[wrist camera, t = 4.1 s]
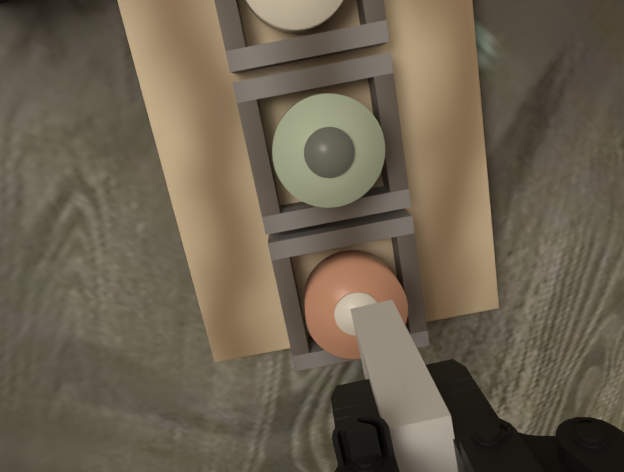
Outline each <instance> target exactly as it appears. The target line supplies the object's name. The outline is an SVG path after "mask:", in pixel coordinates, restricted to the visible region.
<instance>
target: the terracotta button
mask: <svg viewBox="0 0 624 472" xmlns="http://www.w3.org/2000/svg"><path fill="white" fill-rule="evenodd" d="M388 300H393V302H394V304H395V306H396V308H397V310H398V312H399V314H400V316H401V318H402V320H403V322H404V324H406V321H407V317H408V302H407V298H406V295H405V292H404V290H403V288H402V287H401V285H400V283H399V281H398V280H397V278H396V276H395V275H394V273H393V271H392V270H391V268H390V267H389V266H388V265H387V264H386V263H385V262H384V261H383V260H382V259H381V258H379V257H377V256H376V255H374V254H371V253H369V252H365V251H360V250H347V251H341V252H337V253H335V254H332V255H330V256H328V257H326V258H325V259H324V260H322V261H321V262H320V263H319V264H318V265H317V266H316V267H315V268H314V269H313V270H312V272H311V273H310V275H309V277H308V279H307V281H306V285H305V289H304V305H305V317H306V323H307V327H308V330H309V332H310V334H311V336H312V337H313V339H314V340H315V342H316V343H317V344H318V345H319V346H320V347H321V348H323V349H324V350H325V351H327V352H329V353H331V354H332V355H335V356H338V357H341V358H346V359H361V357H360V352H359V347H358V343H357V338H356V333H355V329H354V324H353V319H352V315H351V310H350V309H352V308H356V307H361V306H365V305H370V304H374V303H379V302H383V301H388Z"/></svg>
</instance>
